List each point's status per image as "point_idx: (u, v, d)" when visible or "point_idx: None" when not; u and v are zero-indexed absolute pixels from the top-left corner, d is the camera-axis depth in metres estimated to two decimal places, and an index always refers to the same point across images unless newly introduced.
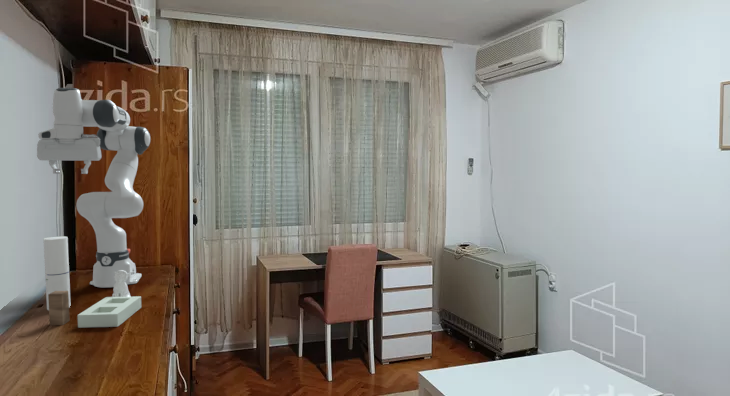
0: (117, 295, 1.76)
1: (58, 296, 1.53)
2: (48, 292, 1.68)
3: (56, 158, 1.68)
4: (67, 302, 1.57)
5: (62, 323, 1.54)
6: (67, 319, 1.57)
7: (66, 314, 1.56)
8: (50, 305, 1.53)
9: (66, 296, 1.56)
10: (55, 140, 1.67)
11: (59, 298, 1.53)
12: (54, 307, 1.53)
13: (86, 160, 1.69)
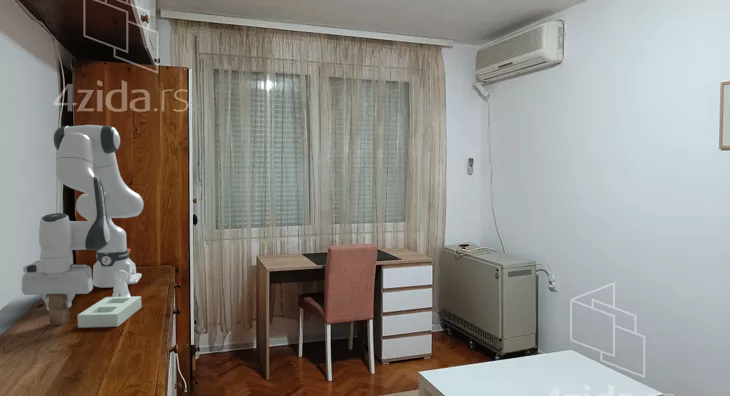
0: (117, 295, 1.76)
1: (58, 296, 1.53)
2: None
3: (43, 292, 1.53)
4: None
5: (62, 323, 1.54)
6: (67, 319, 1.57)
7: (66, 314, 1.56)
8: (50, 305, 1.53)
9: (66, 296, 1.56)
10: (42, 274, 1.52)
11: (59, 298, 1.53)
12: (54, 307, 1.53)
13: (76, 293, 1.54)
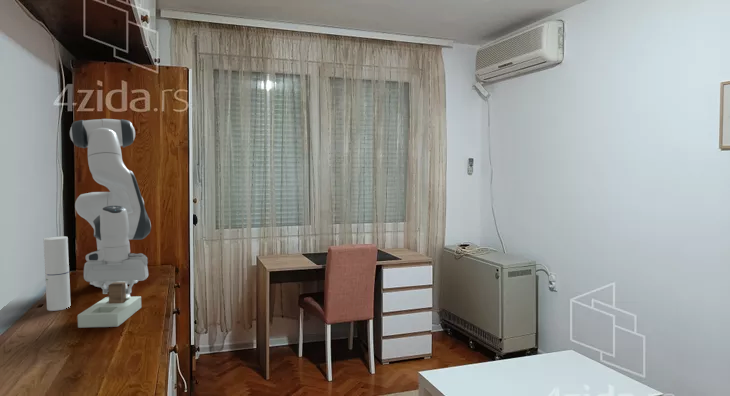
0: None
1: (118, 287, 1.65)
2: (48, 292, 1.68)
3: (103, 279, 1.64)
4: (124, 293, 1.68)
5: None
6: None
7: None
8: (109, 295, 1.64)
9: (123, 287, 1.67)
10: (102, 262, 1.63)
11: (119, 289, 1.65)
12: (114, 297, 1.65)
13: (133, 280, 1.65)
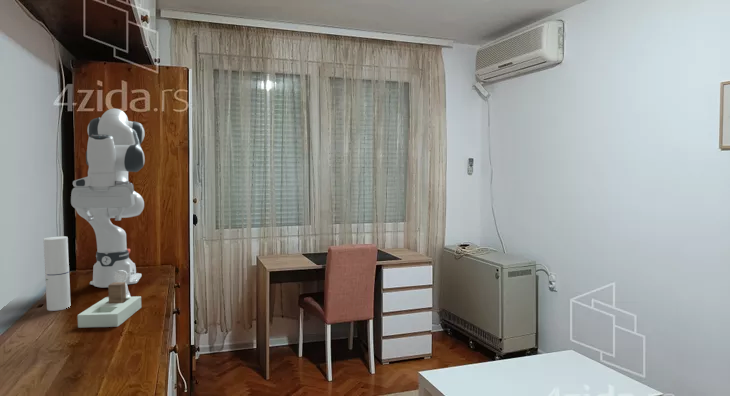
0: None
1: (117, 287, 1.64)
2: (48, 292, 1.68)
3: (90, 206, 1.68)
4: (124, 293, 1.68)
5: None
6: None
7: None
8: (109, 295, 1.64)
9: (123, 287, 1.67)
10: (89, 188, 1.67)
11: (119, 289, 1.65)
12: (114, 297, 1.65)
13: (120, 207, 1.69)
